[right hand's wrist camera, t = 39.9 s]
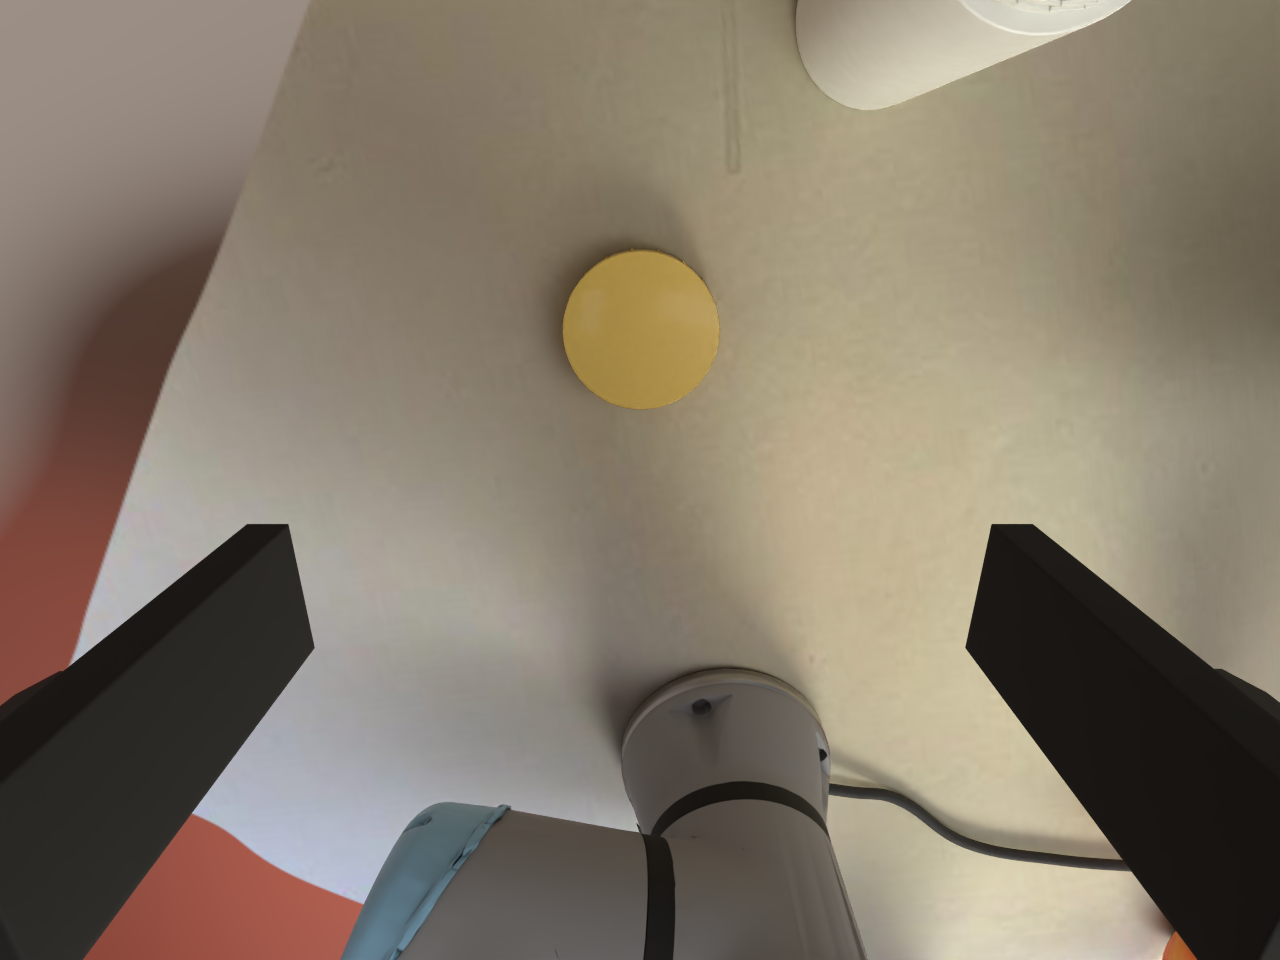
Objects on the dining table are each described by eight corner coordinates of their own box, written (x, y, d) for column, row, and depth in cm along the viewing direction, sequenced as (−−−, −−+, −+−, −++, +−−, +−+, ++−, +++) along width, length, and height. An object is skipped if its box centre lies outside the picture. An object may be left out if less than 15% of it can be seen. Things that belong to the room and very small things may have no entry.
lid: (746, 347, 40) (750, 353, 38) (623, 429, 42) (622, 439, 40) (661, 214, 37) (662, 215, 36) (534, 309, 39) (529, 313, 37)
